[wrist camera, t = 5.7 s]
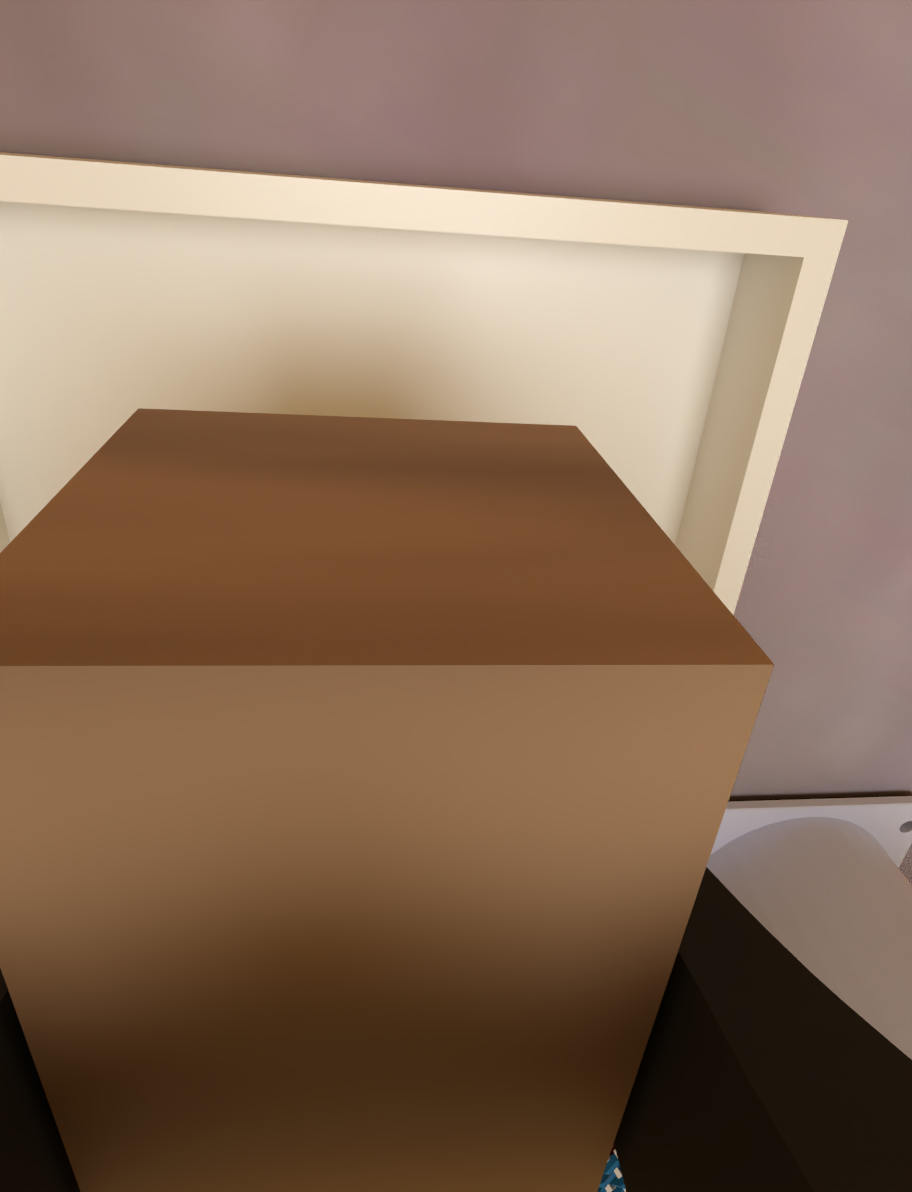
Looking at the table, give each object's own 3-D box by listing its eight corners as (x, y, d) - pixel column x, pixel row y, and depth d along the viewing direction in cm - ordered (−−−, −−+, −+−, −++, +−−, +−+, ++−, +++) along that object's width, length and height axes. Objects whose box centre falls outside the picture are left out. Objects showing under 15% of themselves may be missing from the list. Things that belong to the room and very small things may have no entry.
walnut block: (500, 922, 13) (565, 1283, 9) (210, 935, 13) (131, 1330, 8) (575, 426, 9) (774, 664, 5) (138, 408, 8) (-107, 667, 4)
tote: (635, 748, 22) (672, 826, 19) (54, 760, 20) (8, 849, 17) (764, 211, 15) (848, 220, 12) (-101, 144, 13) (-216, 138, 10)
